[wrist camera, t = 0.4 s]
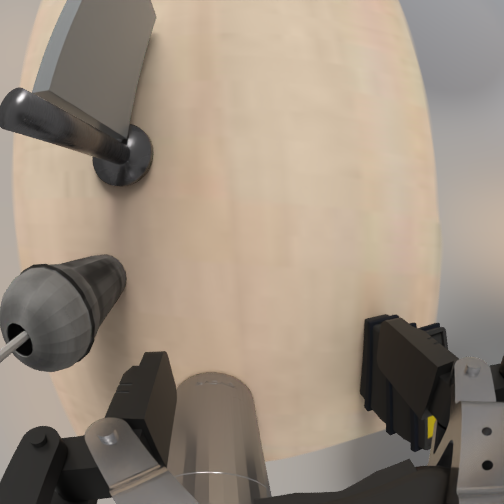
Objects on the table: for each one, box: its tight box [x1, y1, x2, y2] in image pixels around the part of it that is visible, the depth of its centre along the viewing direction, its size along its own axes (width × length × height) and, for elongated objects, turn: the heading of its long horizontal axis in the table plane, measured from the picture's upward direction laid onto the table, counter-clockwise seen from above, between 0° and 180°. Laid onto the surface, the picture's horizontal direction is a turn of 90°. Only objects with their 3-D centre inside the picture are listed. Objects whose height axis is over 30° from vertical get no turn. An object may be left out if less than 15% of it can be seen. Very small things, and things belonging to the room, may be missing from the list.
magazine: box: [360, 314, 448, 452], centre depth 26 cm, size 4×13×15 cm, turn 6°
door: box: [32, 0, 156, 139], centre depth 16 cm, size 14×2×14 cm, turn 173°
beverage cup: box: [0, 255, 126, 372], centre depth 18 cm, size 7×7×20 cm
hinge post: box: [0, 88, 153, 186], centre depth 17 cm, size 6×6×18 cm
